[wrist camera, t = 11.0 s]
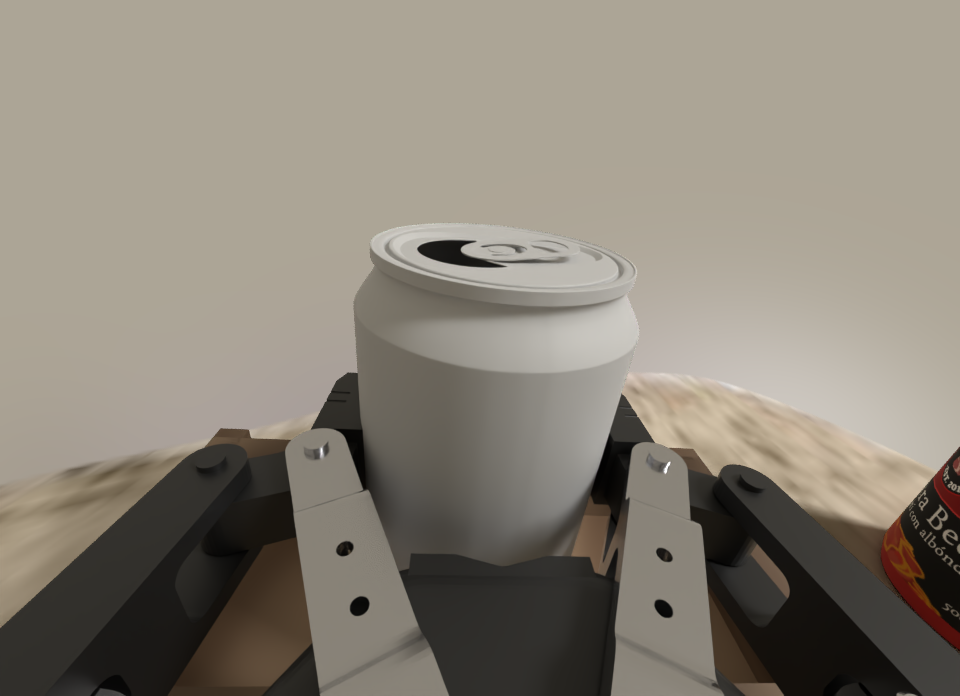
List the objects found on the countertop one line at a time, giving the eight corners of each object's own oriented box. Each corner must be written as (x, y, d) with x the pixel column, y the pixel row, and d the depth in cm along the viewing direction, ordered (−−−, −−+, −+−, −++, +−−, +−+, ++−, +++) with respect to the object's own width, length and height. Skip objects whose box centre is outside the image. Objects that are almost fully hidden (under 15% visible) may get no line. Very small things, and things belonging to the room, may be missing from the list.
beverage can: (368, 522, 16) (348, 211, 10) (516, 496, 17) (566, 221, 12) (377, 724, 10) (343, 296, 5) (588, 655, 12) (739, 290, 7)
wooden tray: (668, 502, 21) (692, 448, 19) (850, 822, 11) (936, 773, 9) (237, 489, 19) (220, 428, 17) (2, 854, 9) (-93, 801, 7)
